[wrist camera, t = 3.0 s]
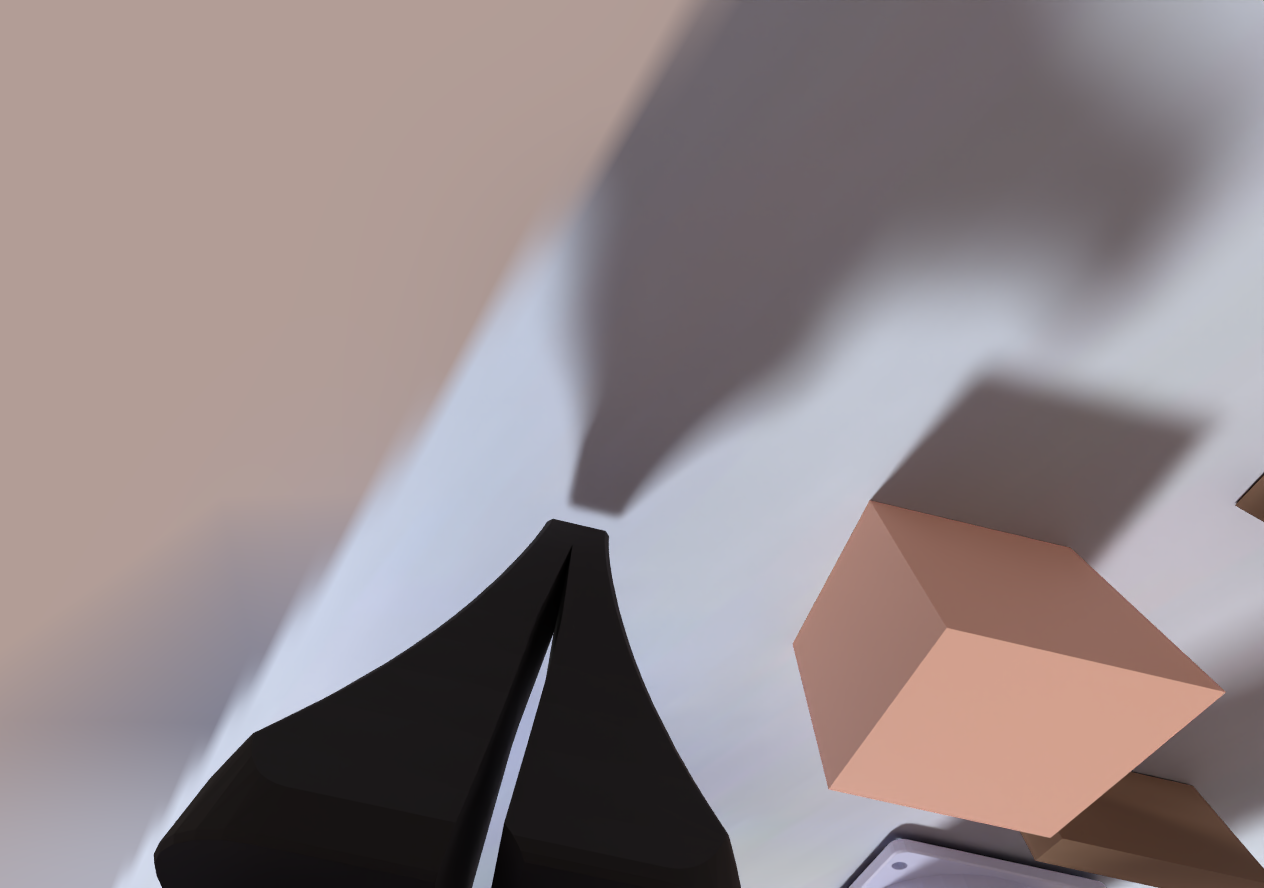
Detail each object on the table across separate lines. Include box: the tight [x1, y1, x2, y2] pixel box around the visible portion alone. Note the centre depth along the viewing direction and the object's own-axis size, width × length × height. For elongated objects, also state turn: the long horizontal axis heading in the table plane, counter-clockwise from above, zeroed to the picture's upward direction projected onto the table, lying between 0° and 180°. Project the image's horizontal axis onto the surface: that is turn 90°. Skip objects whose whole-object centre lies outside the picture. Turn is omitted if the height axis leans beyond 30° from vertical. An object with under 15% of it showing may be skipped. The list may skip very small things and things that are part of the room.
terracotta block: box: [793, 500, 1226, 838], centre depth 11 cm, size 5×5×4 cm
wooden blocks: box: [1020, 476, 1264, 888], centre depth 12 cm, size 11×6×2 cm, turn 167°
